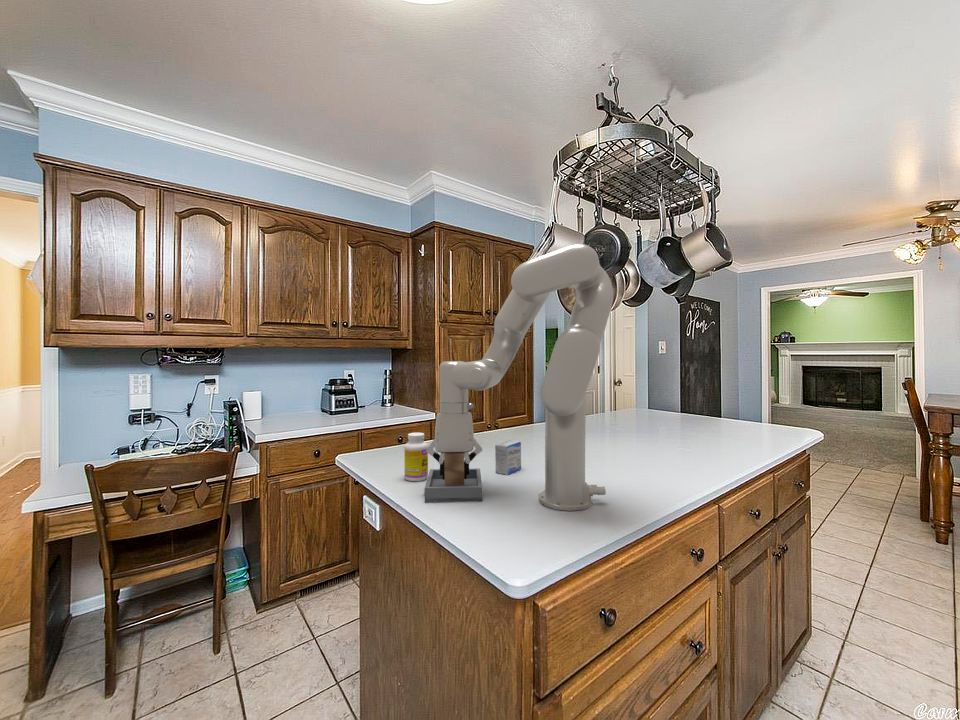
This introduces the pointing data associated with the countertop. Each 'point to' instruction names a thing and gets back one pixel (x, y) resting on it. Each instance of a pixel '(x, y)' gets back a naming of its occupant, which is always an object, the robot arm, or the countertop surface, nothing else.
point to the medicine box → (508, 457)
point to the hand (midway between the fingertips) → (454, 477)
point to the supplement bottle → (416, 458)
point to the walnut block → (454, 468)
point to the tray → (453, 488)
